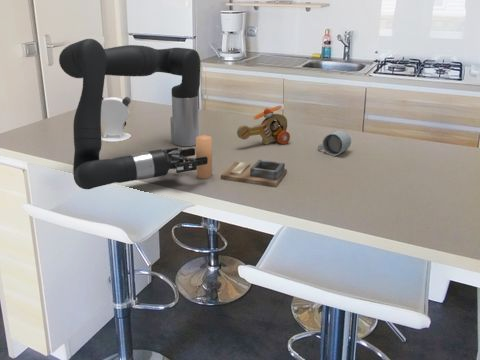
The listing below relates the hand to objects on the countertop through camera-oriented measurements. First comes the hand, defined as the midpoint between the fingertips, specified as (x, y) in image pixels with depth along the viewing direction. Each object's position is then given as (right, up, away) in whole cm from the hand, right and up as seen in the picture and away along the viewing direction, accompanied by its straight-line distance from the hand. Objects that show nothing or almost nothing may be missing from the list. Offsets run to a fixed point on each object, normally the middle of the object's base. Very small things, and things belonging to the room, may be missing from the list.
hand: (200, 155), depth 143 cm
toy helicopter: (+21, +6, +32) cm, 38 cm away
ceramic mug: (+44, +2, +25) cm, 50 cm away
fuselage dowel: (+1, -6, +3) cm, 7 cm away
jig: (+16, -6, +3) cm, 17 cm away
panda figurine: (-35, +8, +37) cm, 52 cm away
